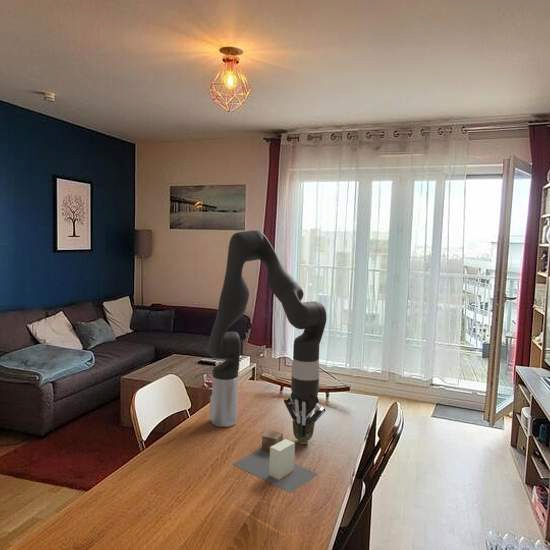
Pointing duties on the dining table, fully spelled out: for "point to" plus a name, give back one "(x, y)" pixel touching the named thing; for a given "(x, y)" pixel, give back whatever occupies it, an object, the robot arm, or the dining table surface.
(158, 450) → the dining table surface
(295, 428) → the filigree lamp shade
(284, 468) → the cream block
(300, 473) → the mat
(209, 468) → the dining table surface
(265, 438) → the walnut cube
